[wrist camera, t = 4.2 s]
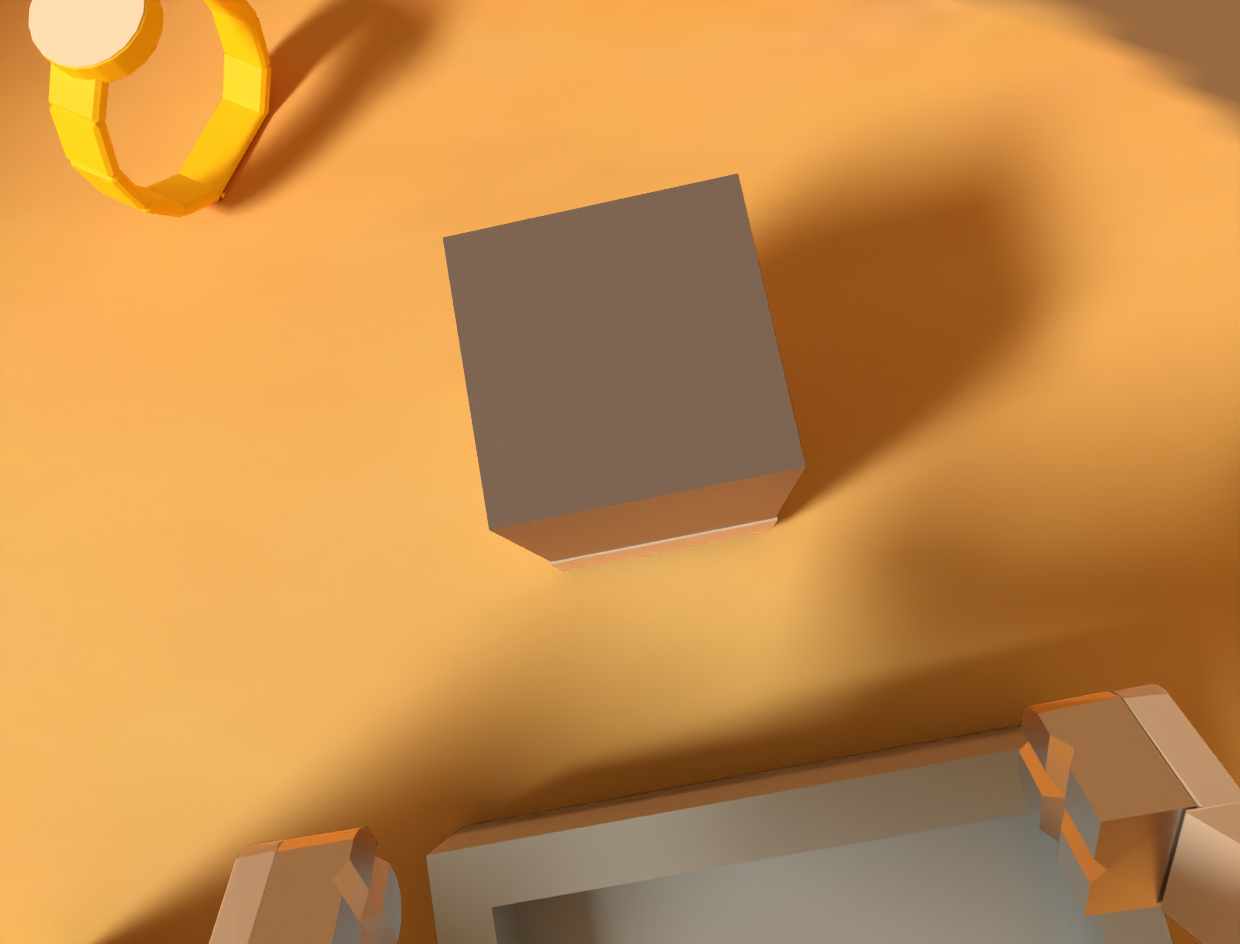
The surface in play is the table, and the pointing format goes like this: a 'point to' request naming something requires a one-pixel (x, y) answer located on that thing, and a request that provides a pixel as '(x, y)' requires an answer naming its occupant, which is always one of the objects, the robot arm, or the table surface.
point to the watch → (114, 48)
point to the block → (624, 376)
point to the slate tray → (784, 861)
